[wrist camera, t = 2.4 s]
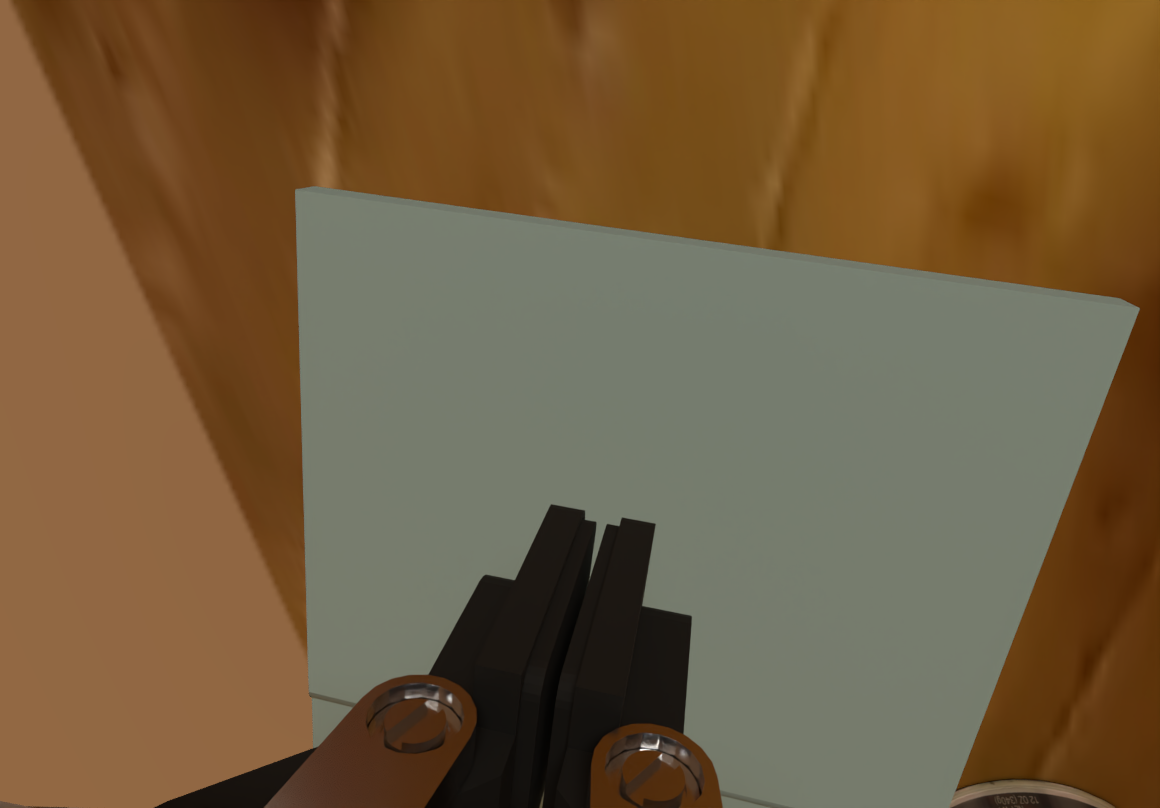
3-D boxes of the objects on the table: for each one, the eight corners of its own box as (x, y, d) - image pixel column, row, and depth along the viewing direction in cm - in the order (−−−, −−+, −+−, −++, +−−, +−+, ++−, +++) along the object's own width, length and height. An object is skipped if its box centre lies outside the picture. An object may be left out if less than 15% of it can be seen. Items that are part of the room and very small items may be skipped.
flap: (1119, 298, 14) (1140, 307, 14) (807, 1139, 24) (809, 1172, 23) (315, 186, 17) (294, 189, 16) (329, 997, 26) (317, 1022, 26)
